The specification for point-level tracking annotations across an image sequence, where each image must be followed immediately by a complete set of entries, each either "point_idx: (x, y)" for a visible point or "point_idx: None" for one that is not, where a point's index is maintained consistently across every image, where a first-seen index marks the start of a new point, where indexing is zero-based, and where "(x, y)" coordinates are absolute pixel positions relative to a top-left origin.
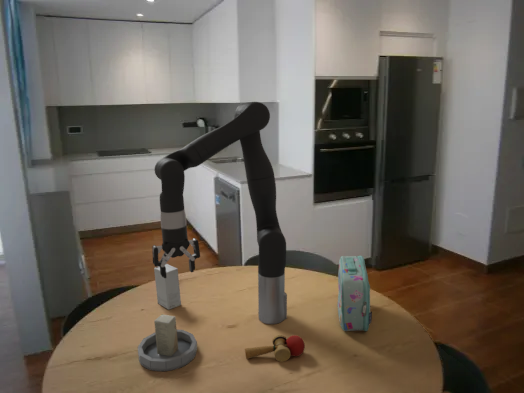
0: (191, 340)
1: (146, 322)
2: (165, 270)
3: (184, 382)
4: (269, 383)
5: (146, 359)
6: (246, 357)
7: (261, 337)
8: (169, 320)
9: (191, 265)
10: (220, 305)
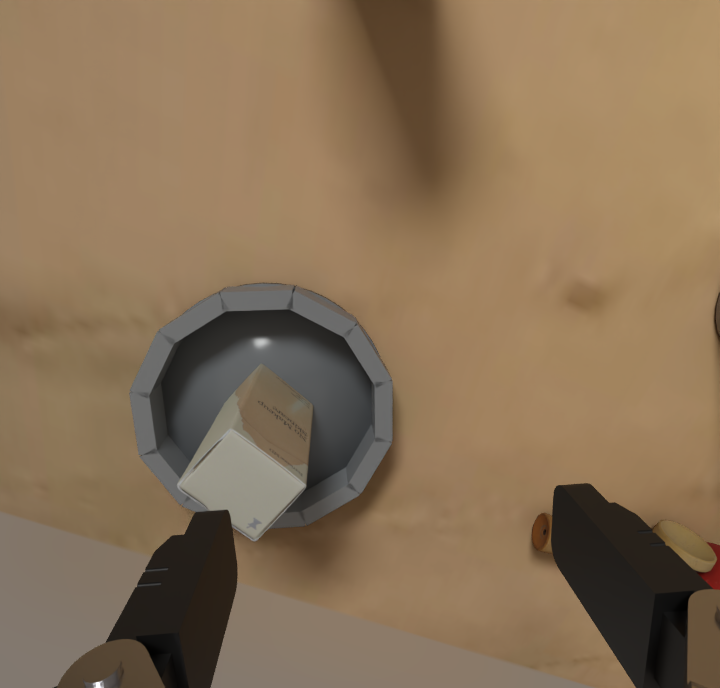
0: (374, 418)
1: (198, 66)
2: (207, 678)
3: (298, 573)
4: (536, 650)
5: (167, 487)
6: (533, 543)
7: (647, 428)
8: (264, 518)
9: (610, 635)
10: (631, 55)
